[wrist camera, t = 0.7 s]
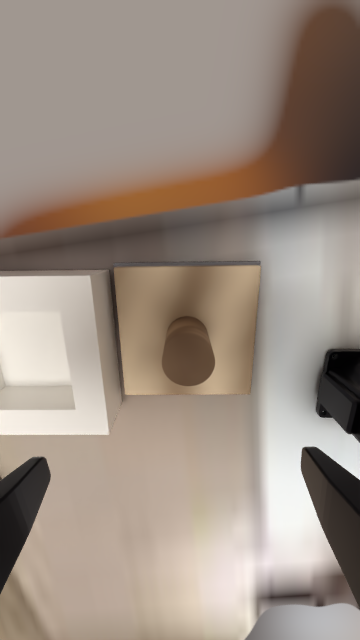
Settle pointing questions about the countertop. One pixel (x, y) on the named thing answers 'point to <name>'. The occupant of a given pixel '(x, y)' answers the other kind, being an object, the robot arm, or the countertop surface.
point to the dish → (57, 353)
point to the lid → (187, 328)
